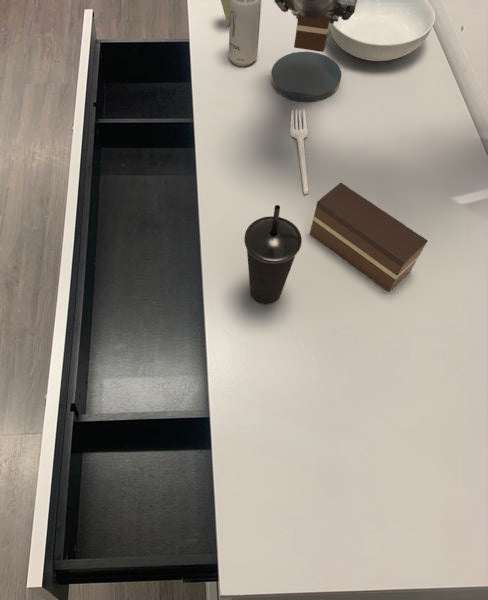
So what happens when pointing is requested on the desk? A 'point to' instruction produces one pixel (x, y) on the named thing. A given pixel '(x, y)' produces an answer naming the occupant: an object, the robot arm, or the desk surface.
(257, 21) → the energy drink can
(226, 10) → the ice cream cone
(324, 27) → the cake slice
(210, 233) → the desk surface
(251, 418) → the desk surface
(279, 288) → the drinking cup
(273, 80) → the plate
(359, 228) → the loaf cake
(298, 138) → the fork
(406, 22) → the serving bowl
